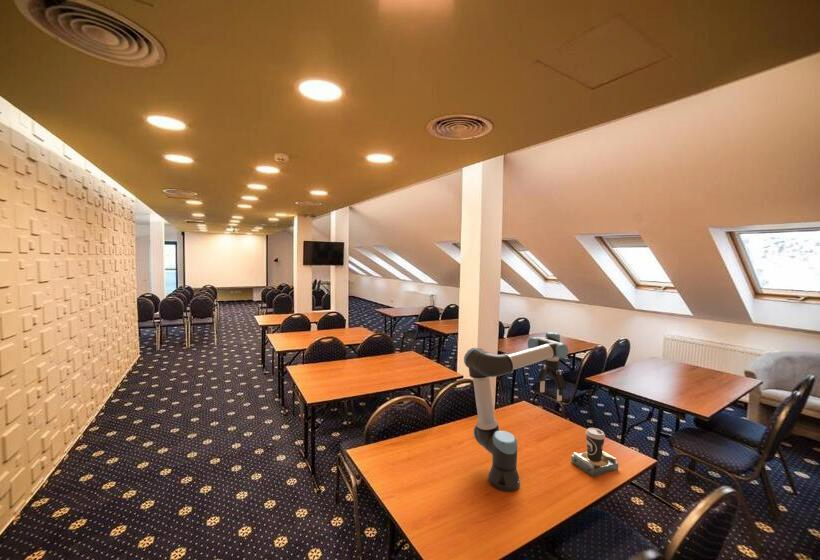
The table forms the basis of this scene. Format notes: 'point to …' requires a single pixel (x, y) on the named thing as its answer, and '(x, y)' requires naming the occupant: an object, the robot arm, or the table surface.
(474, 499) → the table surface
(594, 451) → the coffee cup
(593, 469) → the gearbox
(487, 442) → the robot arm
